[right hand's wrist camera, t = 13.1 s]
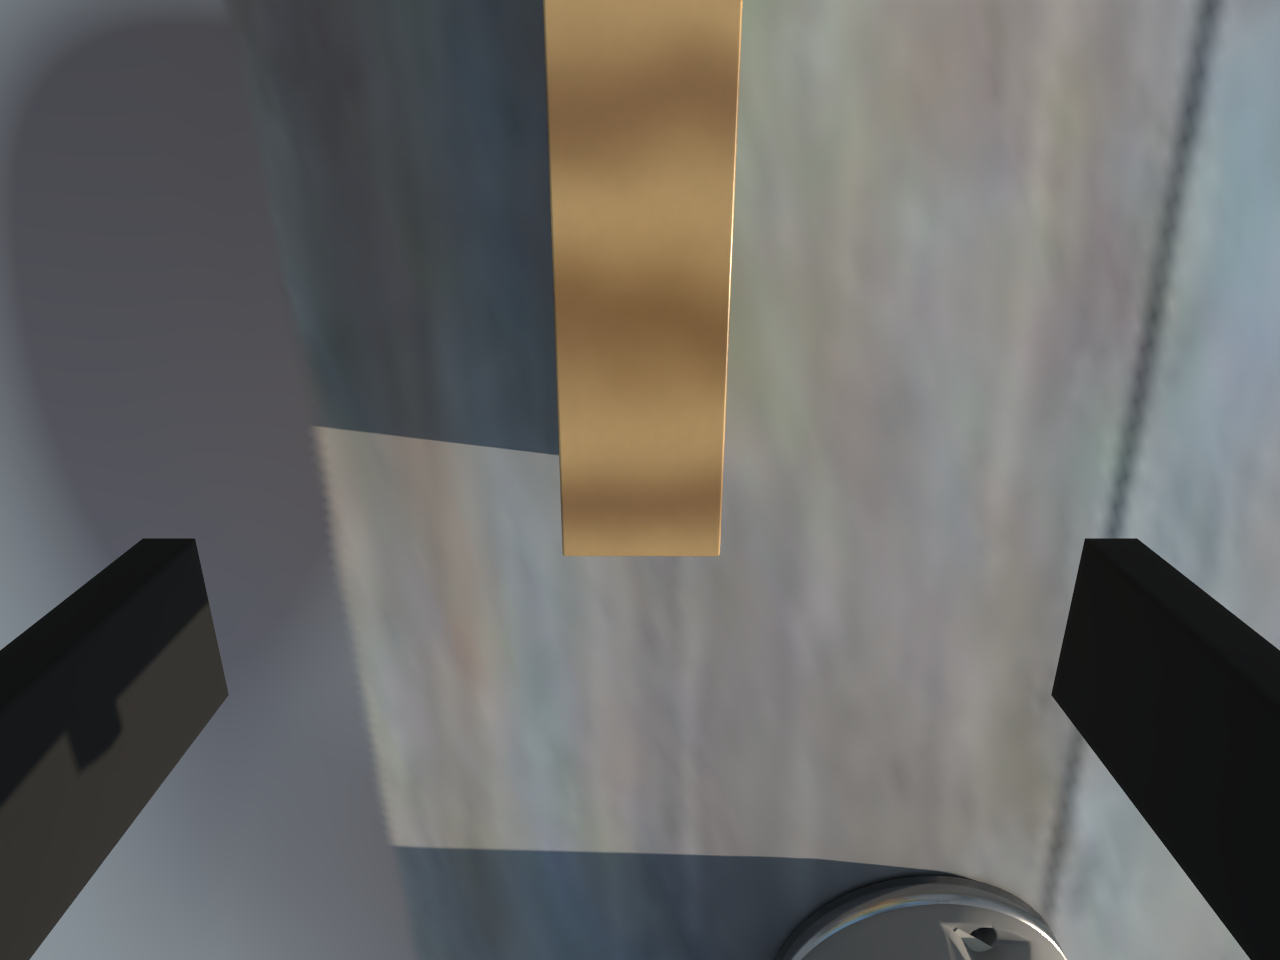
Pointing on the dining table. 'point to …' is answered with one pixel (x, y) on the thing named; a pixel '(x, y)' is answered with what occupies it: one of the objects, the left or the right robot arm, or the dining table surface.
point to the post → (642, 266)
